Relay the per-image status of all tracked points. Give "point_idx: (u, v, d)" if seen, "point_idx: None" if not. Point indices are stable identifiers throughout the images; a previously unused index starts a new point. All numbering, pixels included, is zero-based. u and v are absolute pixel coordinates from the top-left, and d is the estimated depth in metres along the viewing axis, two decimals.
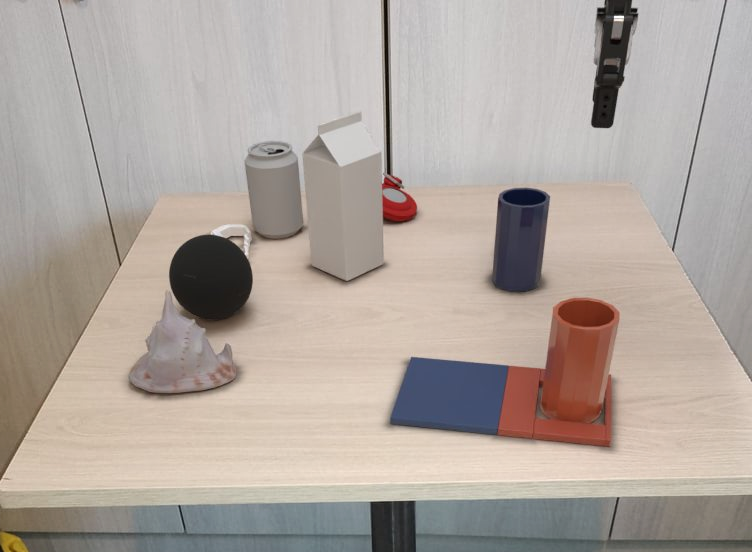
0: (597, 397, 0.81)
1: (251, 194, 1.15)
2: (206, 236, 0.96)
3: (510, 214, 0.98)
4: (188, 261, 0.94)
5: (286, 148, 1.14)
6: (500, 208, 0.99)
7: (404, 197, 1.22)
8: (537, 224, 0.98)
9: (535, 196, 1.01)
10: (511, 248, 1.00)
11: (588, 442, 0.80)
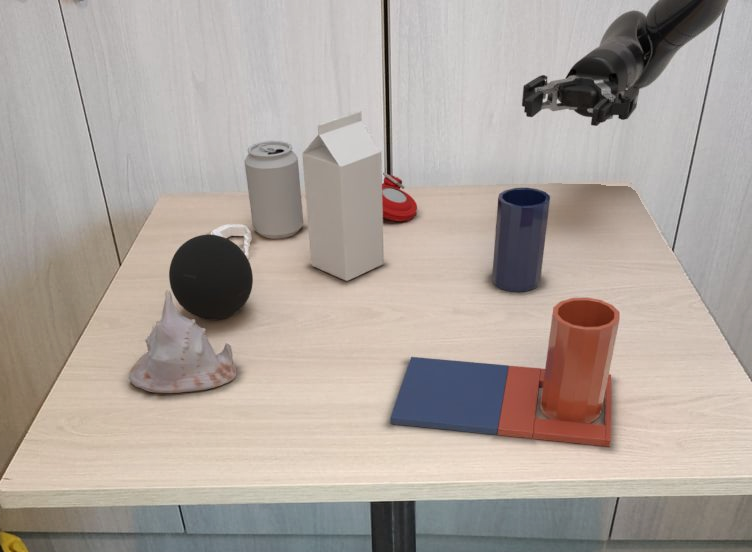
0: (597, 397, 0.81)
1: (251, 194, 1.15)
2: (206, 236, 0.96)
3: (510, 214, 0.98)
4: (188, 261, 0.94)
5: (286, 148, 1.14)
6: (500, 208, 0.99)
7: (404, 197, 1.22)
8: (537, 224, 0.98)
9: (535, 196, 1.01)
10: (511, 248, 1.00)
11: (588, 442, 0.80)
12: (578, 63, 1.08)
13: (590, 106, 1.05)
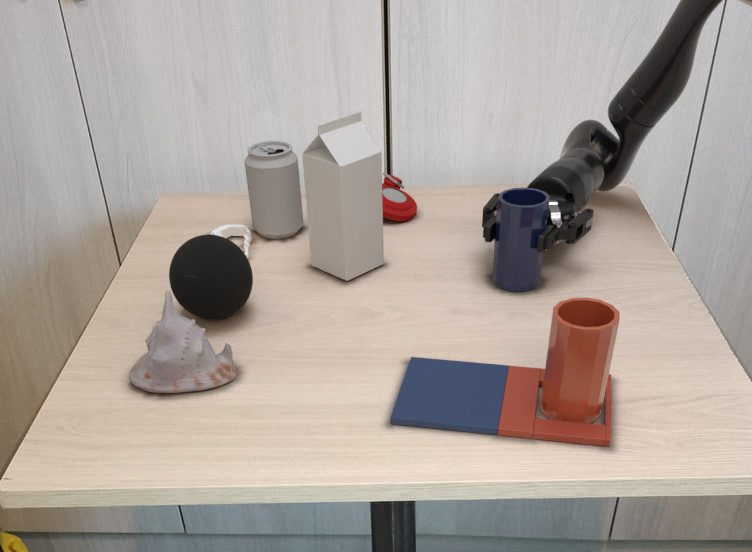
0: (597, 397, 0.81)
1: (251, 194, 1.15)
2: (206, 236, 0.96)
3: (510, 214, 0.98)
4: (188, 261, 0.94)
5: (286, 148, 1.14)
6: (500, 208, 0.99)
7: (404, 197, 1.22)
8: (537, 224, 0.98)
9: (535, 196, 1.01)
10: (511, 248, 1.00)
11: (588, 442, 0.80)
12: (534, 181, 1.07)
13: None
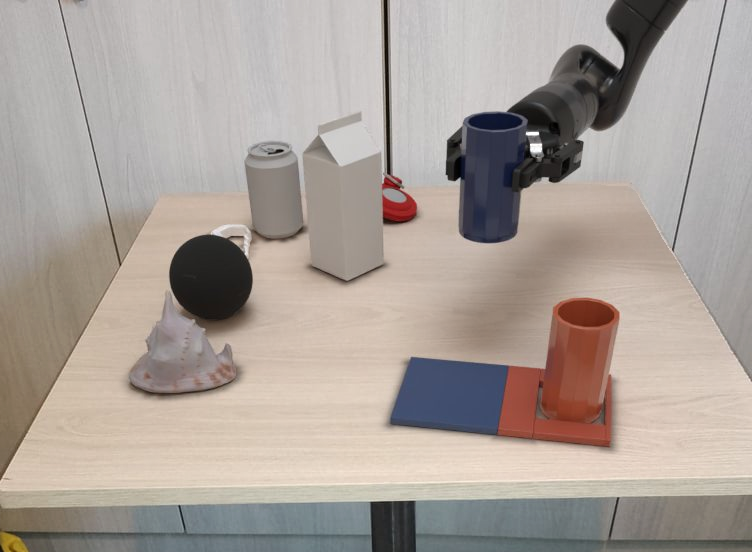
0: (597, 397, 0.81)
1: (251, 194, 1.15)
2: (206, 236, 0.96)
3: (477, 142, 0.78)
4: (188, 261, 0.94)
5: (286, 148, 1.14)
6: (465, 135, 0.79)
7: (404, 197, 1.22)
8: (511, 155, 0.78)
9: (510, 122, 0.80)
10: (479, 187, 0.80)
11: (588, 442, 0.80)
12: (511, 109, 0.87)
13: None
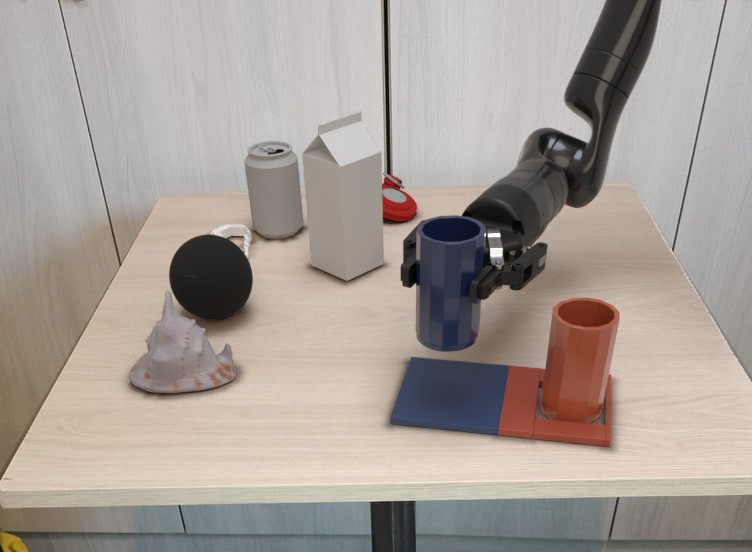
0: (597, 397, 0.81)
1: (251, 194, 1.15)
2: (206, 236, 0.96)
3: (431, 253, 0.73)
4: (188, 261, 0.94)
5: (286, 148, 1.14)
6: (419, 244, 0.74)
7: (404, 197, 1.22)
8: (468, 266, 0.73)
9: (468, 227, 0.75)
10: (435, 297, 0.75)
11: (588, 442, 0.80)
12: (473, 205, 0.82)
13: (485, 267, 0.79)
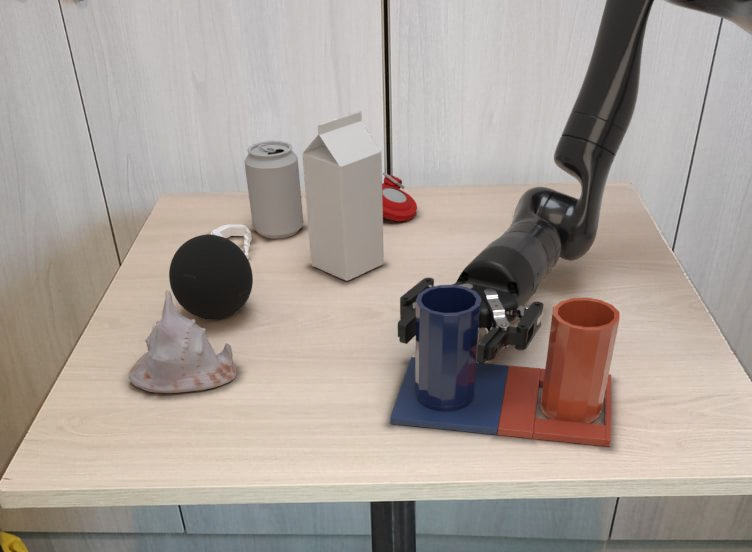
0: (597, 397, 0.81)
1: (251, 194, 1.15)
2: (206, 236, 0.96)
3: (430, 322, 0.77)
4: (188, 261, 0.94)
5: (286, 148, 1.14)
6: (418, 313, 0.78)
7: (404, 197, 1.22)
8: (464, 334, 0.78)
9: (464, 296, 0.80)
10: (434, 362, 0.80)
11: (588, 442, 0.80)
12: (470, 266, 0.86)
13: (482, 326, 0.84)
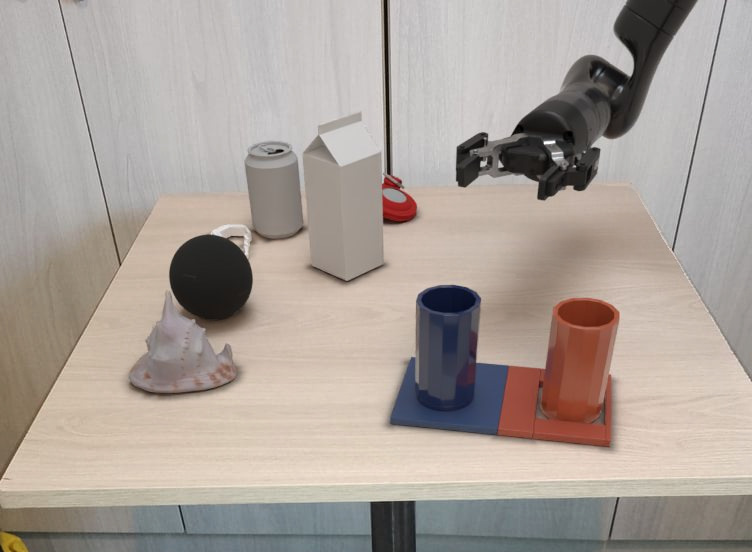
0: (597, 397, 0.81)
1: (251, 194, 1.15)
2: (206, 236, 0.96)
3: (430, 322, 0.77)
4: (188, 261, 0.94)
5: (286, 148, 1.14)
6: (418, 313, 0.78)
7: (404, 197, 1.22)
8: (464, 334, 0.78)
9: (464, 296, 0.80)
10: (434, 362, 0.80)
11: (588, 442, 0.80)
12: (525, 118, 0.87)
13: (539, 173, 0.84)
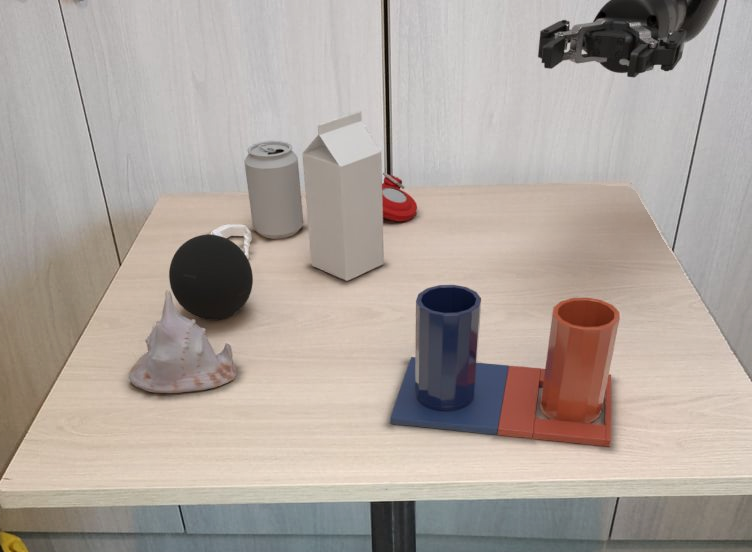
0: (597, 397, 0.81)
1: (251, 194, 1.15)
2: (206, 236, 0.96)
3: (430, 322, 0.77)
4: (188, 261, 0.94)
5: (286, 148, 1.14)
6: (418, 313, 0.78)
7: (404, 197, 1.22)
8: (464, 334, 0.78)
9: (464, 296, 0.80)
10: (434, 362, 0.80)
11: (588, 442, 0.80)
12: (608, 4, 0.86)
13: (624, 56, 0.84)
